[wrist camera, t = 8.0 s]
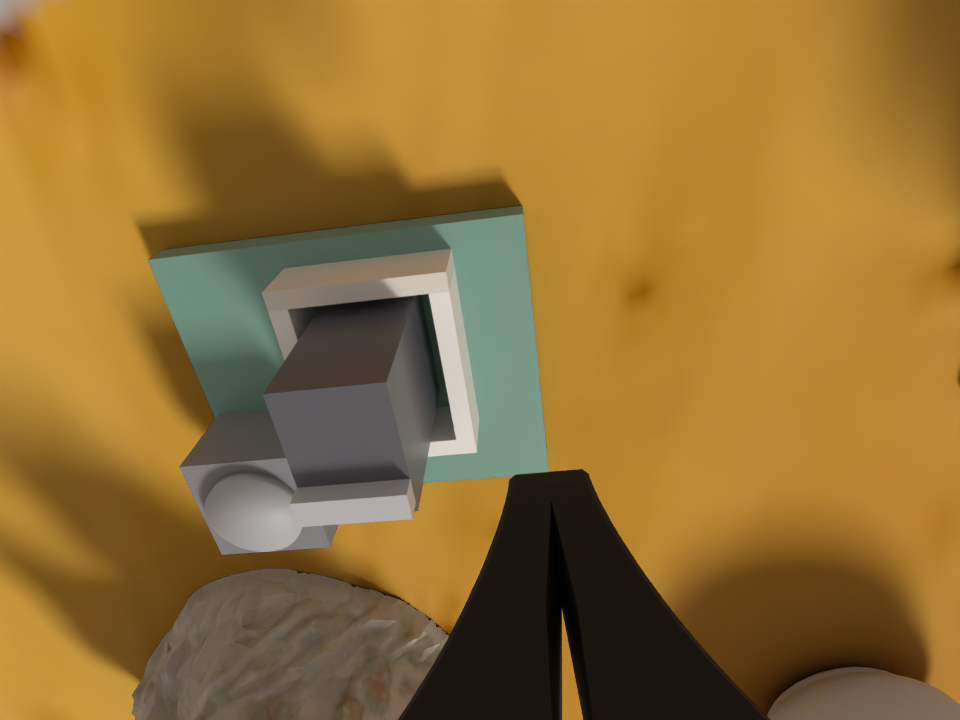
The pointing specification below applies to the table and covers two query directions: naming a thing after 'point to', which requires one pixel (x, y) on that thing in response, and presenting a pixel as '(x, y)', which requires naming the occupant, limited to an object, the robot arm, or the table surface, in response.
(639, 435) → the table surface
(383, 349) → the plug
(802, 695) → the teacup
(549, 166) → the table surface
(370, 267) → the board
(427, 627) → the grey jagged lump
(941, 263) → the table surface
